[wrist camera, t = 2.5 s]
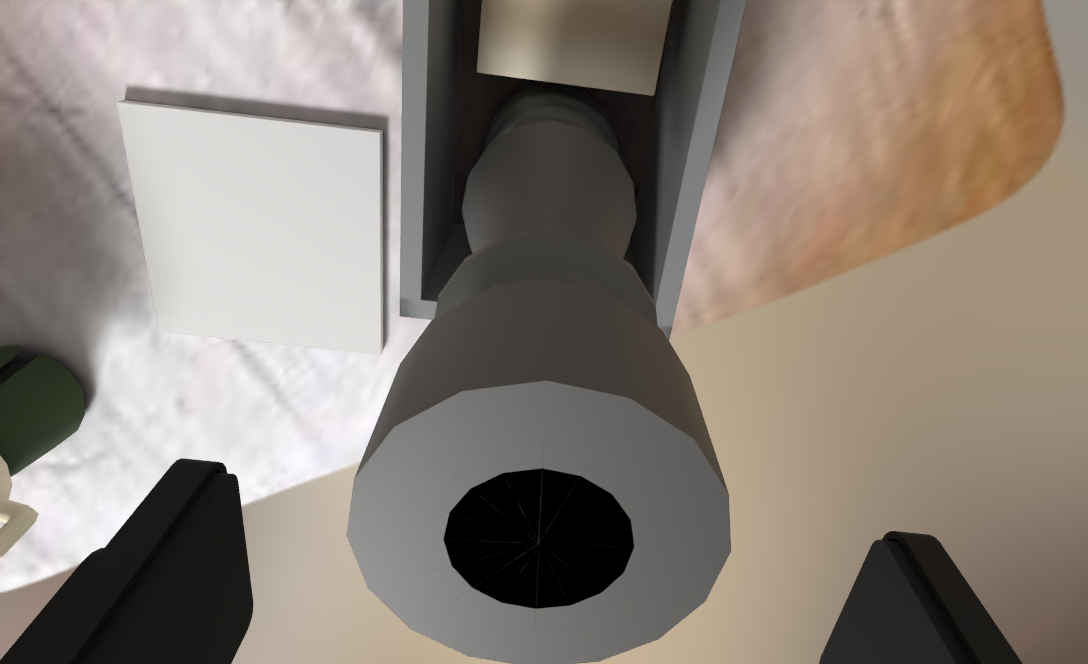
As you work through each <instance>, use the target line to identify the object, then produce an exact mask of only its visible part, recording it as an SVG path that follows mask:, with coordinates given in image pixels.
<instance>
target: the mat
mask: <svg viewBox="0 0 1088 664" xmlns="http://www.w3.org/2000/svg"><path fill="white" fill-rule="evenodd" d="M117 108H118V113H119V118H120V124H121V129H122V135H123V140H124V146H125V151H126V157H127V162H128V168H129V173H130V179H131V184H132V190H133V195H134V201H135V206H136V212H137V217H138V223H139V228H140V234H141V239H142V244H143V250H144V255H145V261H146V266H147V272H148V277H149V283H150V288H151V294H152V299H153V305H154V310H155V316H156V321H157V327H158V332H163V333H173V334H183V335H192V336H202V337H211V338H221V339H231V340H240V341H250V342H259V343H269V344H279V345H288V346H298V347H308V348H317V349H327V350H336V351H346V352H356V353H365V354H375V355H381V354H382V351H383V130H377V129H368V128H360V127H351V126H343V125H334V124H326V123H317V122H308V121H300V120H291V119H283V118H274V117H266V116H257V115H248V114H240V113H231V112H223V111H214V110H206V109H197V108H188V107H180V106H171V105H163V104H154V103H145V102H137V101H128V100H122V101H119V102H117Z"/></svg>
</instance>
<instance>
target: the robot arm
mask: <svg viewBox="0 0 1088 664" xmlns="http://www.w3.org/2000/svg"><path fill="white" fill-rule="evenodd" d="M252 613H253V598H252V589H251V582H250V573H249V565H248V557H247V549H246V541H245V533H244V525H243V517H242V509H241V501H240V493H239V485H238V479H237V477H236V475H234V474H227V470H226V467H225V465H224V464H223V463H220V462H212V461H202V460H192V459H179V460H177V461H176V462H175V463H174V464H173V465H172V466H171V467H170V468H169V469H168V471H167V472H166V473H165V474H164V475H163V477H162V478H161V479H160V480H159V482H158V483H157V484H156V485H155V487H154V488H153V489H152V490H151V491H150V493H149V494H148V495H147V496H146V498H145V499H144V500H143V501H142V503H141V504H140V505H139V506H138V507H137V509H136V510H135V511H134V512H133V514H132V515H131V516H130V517H129V519H128V520H127V521H126V522H125V523H124V525H123V526H122V527H121V528H120V530H119V531H118V532H117V533H116V535H115V536H114V537H113V538H112V539H111V541H110V542H109V543H108V544H107V546H106V547H105V548H100V549H98V550H96V551H94V552H92V553H91V554H90V555H89V556H88V557H87V558H86V559H85V560H84V561H83V562H82V563H81V564H80V565H79V566H78V567H77V569H76V570H75V571H74V572H73V573H72V575H71V576H70V577H69V578H68V579H67V581H66V582H65V583H64V584H63V586H62V587H61V588H60V589H59V590H58V592H57V593H56V594H55V595H54V596H53V597H52V599H51V600H50V601H49V602H48V603H47V605H46V606H45V607H44V608H43V609H42V611H41V612H40V613H39V614H38V615H37V617H36V618H35V619H34V620H33V622H32V623H31V624H30V625H29V626H28V628H27V629H26V630H25V631H24V632H23V634H22V635H21V636H20V637H19V639H17V641H16V642H15V643H14V644H13V645H12V647H11V648H10V649H9V650H8V652H7V653H6V654H5V655H4V656H3V658H2V659H1V660H0V664H231V663H232V661H233V659H234V657H235V655H236V652H237V650H238V648H239V646H240V644H241V642H242V640H243V638H244V636H245V634H246V632H247V630H248V627H249V624H250V621H251V618H252ZM819 664H1022V662H1021V661H1020V659H1019V658H1018V656H1017V655H1016V653H1015V652H1014V650H1013V649H1012V647H1011V646H1010V645H1009V643H1008V642H1007V640H1006V639H1005V637H1004V636H1003V634H1002V633H1001V631H1000V630H999V628H998V627H997V625H996V624H995V623H994V621H993V620H992V618H991V617H990V615H989V614H988V612H987V611H986V610H985V608H984V606H983V605H982V604H981V602H980V600H979V599H978V598H977V596H976V595H975V593H974V592H973V590H972V589H971V587H970V586H969V584H968V583H967V581H966V580H965V579H964V577H963V576H962V574H961V573H960V571H959V570H958V568H957V567H956V565H955V564H954V562H953V561H952V559H951V558H950V556H949V555H948V554H947V552H946V551H945V549H944V548H943V546H942V545H941V543H940V542H939V541H938V540H937V539H936V538H935V537H933V536H931V535H926V534H916V533H907V532H897V531H890V532H888V533H887V534H885V536H884V537H883V539H882V540H876V541H875V542H874V543H873V544H872V546H871V548H870V550H869V552H868V554H867V556H866V559H865V561H864V563H863V565H862V567H861V570H860V572H859V574H858V576H857V579H856V581H855V583H854V585H853V587H852V589H851V592H850V594H849V596H848V599H847V600H846V603H845V605H844V607H843V609H842V612H841V614H840V616H839V618H838V620H837V622H836V625H835V627H834V629H833V631H832V633H831V636H830V638H829V640H828V642H827V645H826V647H825V649H824V651H823V653H822V655H821V659H820V663H819Z"/></svg>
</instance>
